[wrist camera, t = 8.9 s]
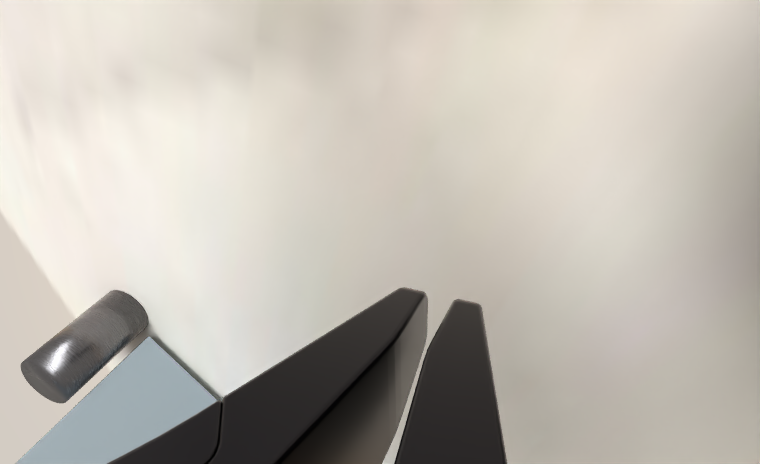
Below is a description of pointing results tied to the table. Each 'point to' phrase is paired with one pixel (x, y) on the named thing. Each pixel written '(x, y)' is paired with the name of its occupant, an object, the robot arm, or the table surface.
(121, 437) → the panel
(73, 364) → the posts
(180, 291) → the table surface
